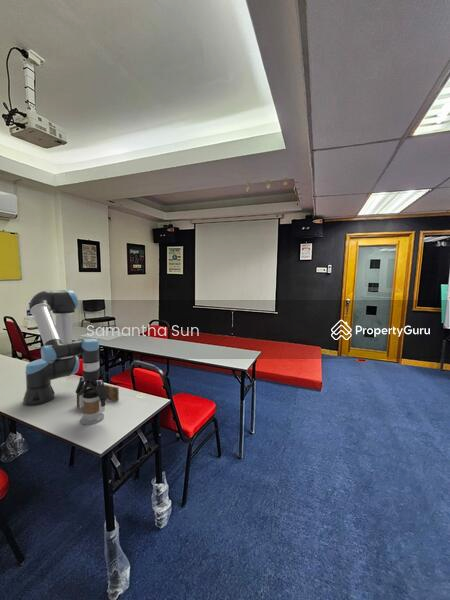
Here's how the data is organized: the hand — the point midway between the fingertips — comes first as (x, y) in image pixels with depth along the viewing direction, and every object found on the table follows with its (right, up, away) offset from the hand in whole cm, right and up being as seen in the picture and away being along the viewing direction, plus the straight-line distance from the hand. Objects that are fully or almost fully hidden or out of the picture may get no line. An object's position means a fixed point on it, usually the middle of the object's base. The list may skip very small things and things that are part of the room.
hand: (92, 409), depth 133 cm
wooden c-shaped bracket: (-5, -4, +17) cm, 18 cm away
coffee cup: (0, -5, 0) cm, 5 cm away
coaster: (0, -5, +1) cm, 5 cm away
